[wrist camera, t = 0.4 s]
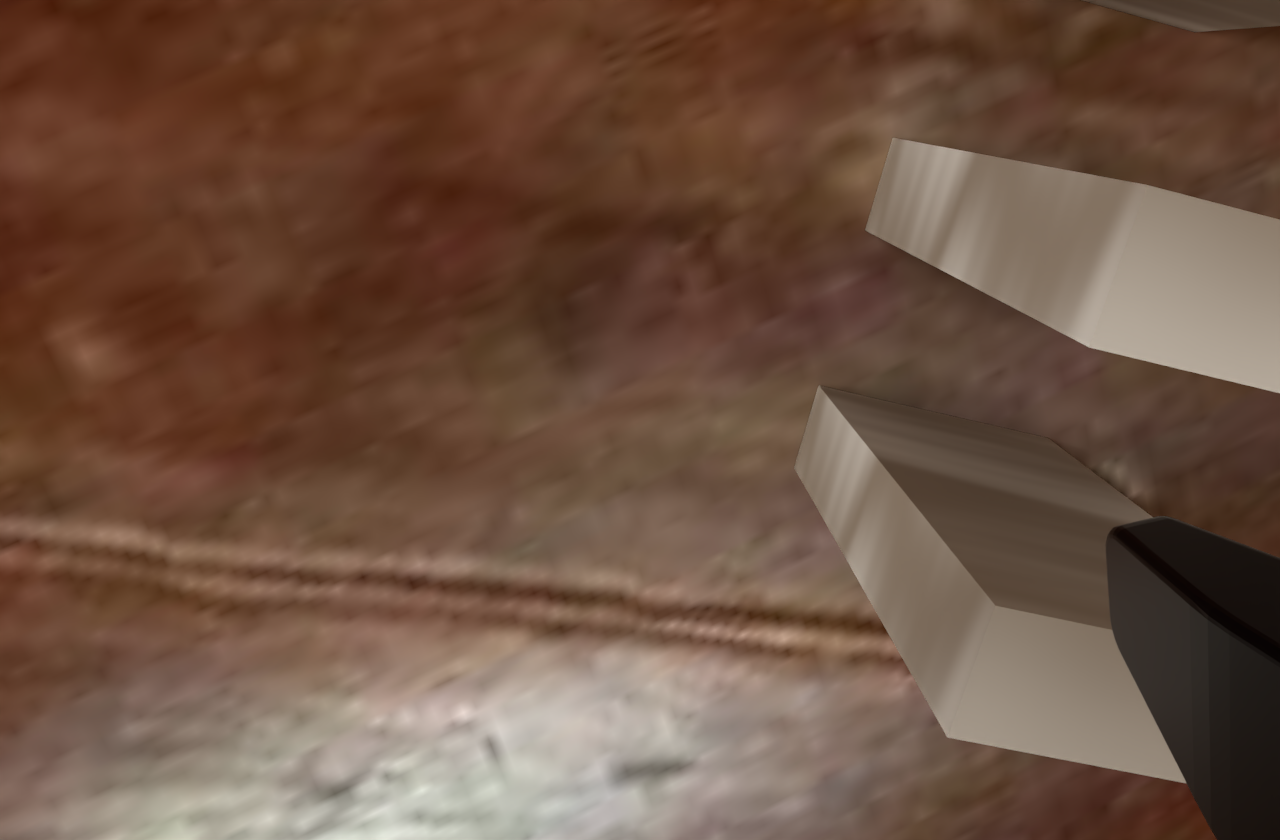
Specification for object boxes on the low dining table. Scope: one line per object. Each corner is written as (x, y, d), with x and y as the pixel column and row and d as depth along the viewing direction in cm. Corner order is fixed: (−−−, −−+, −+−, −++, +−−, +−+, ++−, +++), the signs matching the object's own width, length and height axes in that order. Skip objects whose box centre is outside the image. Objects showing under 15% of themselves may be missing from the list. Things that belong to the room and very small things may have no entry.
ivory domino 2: (1019, 516, 24) (1316, 808, 14) (794, 467, 23) (946, 737, 14) (1047, 438, 23) (1374, 684, 14) (818, 385, 23) (995, 605, 13)
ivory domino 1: (1102, 289, 23) (1488, 443, 13) (865, 230, 22) (1089, 347, 12) (1134, 200, 22) (1561, 292, 13) (893, 137, 22) (1146, 185, 12)
